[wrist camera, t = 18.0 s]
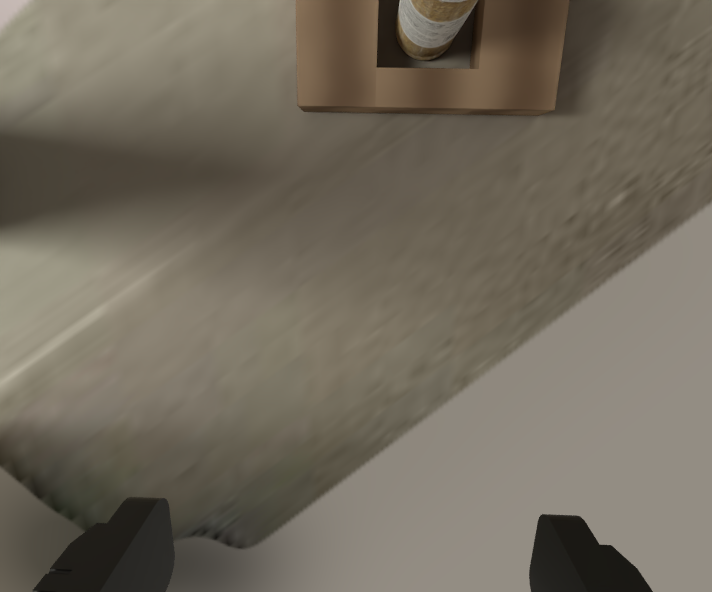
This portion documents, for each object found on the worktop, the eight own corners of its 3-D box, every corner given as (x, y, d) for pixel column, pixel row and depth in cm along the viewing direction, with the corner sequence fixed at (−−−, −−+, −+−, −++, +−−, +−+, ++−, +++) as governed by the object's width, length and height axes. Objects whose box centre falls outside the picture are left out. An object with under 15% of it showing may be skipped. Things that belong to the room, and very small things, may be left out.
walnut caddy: (303, 111, 33) (297, 105, 30) (301, -75, 29) (294, -102, 27) (537, 115, 32) (554, 109, 29) (562, -73, 29) (583, -101, 26)
